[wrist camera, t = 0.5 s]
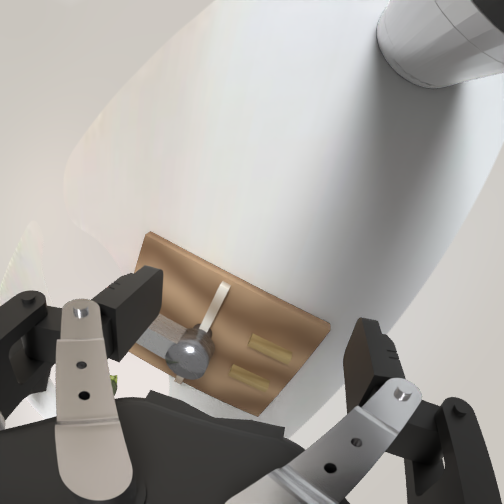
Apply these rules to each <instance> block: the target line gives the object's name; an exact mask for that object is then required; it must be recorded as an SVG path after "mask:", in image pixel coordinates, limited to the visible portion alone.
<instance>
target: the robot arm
mask: <svg viewBox="0 0 504 504" xmlns="http://www.w3.org/2000/svg"><path fill="white" fill-rule="evenodd" d="M377 39H378V43H379V47H380V49H381V52H382V54H383V56H384V58H385V59H386V60H387V62H388V63H389V65H390V66H391V67H392V68H393V69H394V70H395V71H396V72H397V73H398V74H399V75H401V76H402V77H403V78H405V79H406V80H408V81H410V82H412V83H413V84H415V85H419V86H422V87H425V88H442V87H446V86H450V85H454V84H458V83H462V82H466V81H470V80H474V79H478V78H483V77H487V76H491V75H496V74H500V73H504V0H390V1H389V3H388V4H387V6H386V8H385V10H384V11H383V13H382V15H381V17H380V19H379V21H378V26H377ZM162 292H163V270H162V269H158V268H154V267H151V266H147V265H144V266H143V267H142V268H140V269H139V270H138V271H137V272H135V273H134V274H133V273H130V274H127V275H124V276H121V277H120V278H119V279H117V280H116V281H115V282H114V283H112V284H111V285H109V286H108V288H105V289H104V290H103V291H102V292H100V293H99V294H98V295H97V296H95V297H94V298H93V299H91V300H88V299H75V300H72V301H69V302H67V303H66V304H65V305H64V306H63V308H57V307H51V306H47V305H46V298H45V295H44V294H42V293H41V292H38V291H24V292H21V293H19V294H17V295H16V296H14V297H13V298H11V299H10V300H9V301H7V302H6V303H5V304H3V305H2V306H0V504H350V503H349V502H348V501H347V500H346V498H345V497H346V496H347V494H348V493H349V492H350V491H351V490H352V489H353V488H354V487H355V486H356V485H357V484H358V483H359V482H360V480H361V479H362V478H363V477H364V476H365V475H366V474H367V473H368V471H369V470H370V469H371V468H372V467H373V465H374V464H375V463H376V462H377V461H378V459H379V458H380V457H381V456H382V454H383V453H384V452H388V453H391V454H393V455H396V456H399V457H402V458H404V463H405V475H406V487H407V503H408V504H502V502H501V498H500V493H499V489H498V485H497V482H496V478H495V474H494V470H493V467H492V464H491V460H490V457H489V454H488V451H487V447H486V444H485V441H484V438H483V435H482V432H481V429H480V426H479V424H478V421H477V418H476V416H475V413H474V410H473V409H472V407H471V406H470V405H469V404H468V403H467V402H465V401H464V400H462V399H459V398H456V397H450V398H447V399H445V400H444V402H443V403H442V405H441V406H438V405H435V404H432V403H429V402H426V401H424V400H422V394H421V392H420V390H419V388H418V387H417V386H416V385H415V384H413V383H412V382H410V381H408V380H406V379H405V376H404V372H403V369H402V366H401V363H400V360H399V357H398V354H397V353H396V352H397V351H396V348H395V345H394V343H393V341H392V340H391V339H390V338H389V337H388V336H387V335H385V334H382V333H381V329H380V326H379V323H378V321H376V320H371V319H366V318H361V317H360V318H359V319H358V320H357V322H356V325H355V327H354V330H353V333H352V335H351V338H350V340H349V343H348V345H347V347H346V350H345V354H344V359H343V367H344V378H345V390H346V403H347V415H346V416H345V417H344V418H343V419H342V420H341V421H340V422H339V423H337V424H336V425H335V426H334V427H333V428H332V429H330V430H329V431H328V432H327V433H326V434H325V435H324V436H322V437H321V438H320V439H319V440H317V441H316V442H315V443H314V444H313V445H311V446H310V447H309V448H308V449H306V450H305V449H304V448H302V447H301V446H299V445H298V444H296V443H294V442H292V441H291V440H289V439H287V438H284V437H283V436H284V429H285V427H280V426H275V425H271V424H266V423H262V422H257V421H253V420H240V419H224V418H214V417H211V416H209V415H207V414H205V413H203V412H202V411H200V410H198V409H196V408H194V407H192V406H190V405H189V404H187V403H185V402H183V401H181V400H178V399H175V398H172V397H169V396H166V395H163V394H160V393H158V392H155V391H152V390H150V392H149V393H148V395H147V397H146V398H137V397H128V398H127V397H126V398H118V399H114V395H113V390H112V385H111V379H110V374H109V368H108V362H107V359H108V358H110V359H112V360H115V361H117V362H120V361H121V360H122V358H123V357H124V356H125V355H126V354H127V352H128V351H129V350H130V349H131V348H132V346H133V345H134V344H135V343H136V342H137V340H138V339H139V338H140V337H141V336H142V334H143V333H144V332H145V331H146V330H147V329H148V327H149V326H150V325H151V324H152V323H153V321H154V320H155V319H156V318H157V317H158V315H159V313H160V310H161V306H162ZM20 338H21V340H22V344H23V347H22V348H21V349H20V350H19V351H18V352H17V353H16V354H15V355H14V356H13V357H12V358H10V359H9V351H10V348H11V347H12V345H13V344H15V343H16V342H17V341H18V340H19V339H20ZM54 364H56V412H57V416H56V417H53V418H49V419H45V420H41V421H38V422H34V423H30V424H26V425H22V426H18V427H13V428H9V429H5V420H6V419H7V417H8V416H9V415H10V414H11V413H12V412H13V410H14V409H15V408H16V407H17V406H18V405H19V403H20V402H21V401H22V400H23V399H24V398H25V396H26V395H27V394H28V393H29V392H30V391H31V390H32V388H33V387H34V386H35V385H36V384H37V383H38V382H39V380H40V379H41V378H42V377H43V376H44V375H45V374H46V373H47V372H48V370H49V369H50V368H51V367H52V366H53V365H54ZM443 457H444V461H445V469H444V465H443V460H442V458H443Z"/></svg>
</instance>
